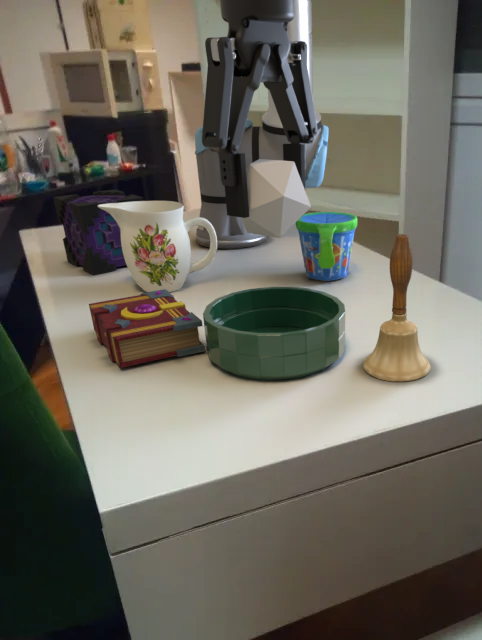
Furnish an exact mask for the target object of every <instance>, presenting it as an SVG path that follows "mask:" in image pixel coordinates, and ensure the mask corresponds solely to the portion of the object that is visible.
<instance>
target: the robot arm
mask: <svg viewBox="0 0 482 640" xmlns="http://www.w3.org/2000/svg"><path fill="white" fill-rule="evenodd" d="M219 1H220V2H219V4H220V15H221V18H222V20H223V21H224V22H225V23H227V24H228V29H227V34H226V36H213V37H212V36H211V37H207V38H206V39H205V42H204V47H205V54H206V55H205V56H206V61H207V71H206V82H205V83H206V84H205V97H204V108H203V122H202V125H201V126H199V127H198V128H197V129H196V130H195V132H194V146H195V151H194V155H195V159H196V168H197V176H198V186H199V194H200V195H199V196H200V210H199V217H201V218H205V219H206V220H208V221H209V222H210V223H211V224H212V226H213V227H214V230H215V232H216V236H217V249H219V250H220V249H222V250H223V249H224V250H226V249H227V250H228V249H229V250H230V249H233V250H234V249H243V248H249V247H255V246H258V245H262V244H264V243H265V242H267V241H268V236H265V235H258V234H252V233H247V231H246V229H245V227H244V224H243V222H242V220H241V218H247V217H249V205H248V190H247V175H246V168H247V167H248V166H249V165H250V164H251V163H253V162H255V161H257V160H259V159H268V160H281V161H294V163H295V165H296V168H297V171H298V173H299V176H300V178H301V181H302V184H303V186H304V189H305V190H306V189H315V188H318V187H320V186H321V185H322V183H323V180H324V176H325V171H326V170H325V169H326V162H327V155H328V154H327V153H328V145H329V144H328V142H329V133H330V132H329V131H330V130H329V127H328V126H327V125H325V124H322V115H321V113H320V112H319V111H318V110H317V109H316V108H315V105H314V69H313V66H314V64H313V12H312V11H313V8H312V7H313V5H312V3H313V2H312V0H219ZM261 83H262V84H263V87H265V88H266V89H267V100H268V102H267V103H268V108H267V109H266V111H265V112H264V113H263V114H262V116H261V124H262V125H261V126H257V125H255V126H254V122H253V121H252V119H251V118H250V117H248V116H249V114H250V109H251V105H252V102H253V97H254V95H255V93H256V91H257V90H258V89H259V87H260V86H261ZM195 231H196V232H195V238H196V243H197V244H198V245H199V246H201V247H205V248H210V244H211V241H210V235H209V233H208V231H207V229H206V228H205V227H203V226H201V225H197V228H196V229H195Z"/></svg>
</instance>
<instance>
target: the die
mask: <svg viewBox="0 0 482 640" xmlns="http://www.w3.org/2000/svg"><path fill="white" fill-rule="evenodd" d="M246 175H247V190H248V205H249V217H247V218H241V220H242V222H243V224H244V227H245V229H246V231H247V233H252V234H258V235H265V236H267V237H270V238H271V237H272V238H278V239H281V238H282V237H283V236H284V235H285V234H286V233H287V232H288V231H289V230H290V229H291V228H292V227H293V226H294V225H296V222H297V221H298V220H299V219H300V218H301V217H302V216H303V215H304V214H307V213H308V211H309V210H310V209H311V208H312V205H311V202H310V200H309V197H308V194H307V192H306V188H305V189H304V186H303V184H302V181H301V178H300V176H299V173H298V171H297V168H296V165H295V163H294V161H281V160H268V159H259V160H257V161H255V162H253V163H251V164H250V165H249V166H248V167H247V168H246Z"/></svg>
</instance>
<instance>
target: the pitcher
mask: <svg viewBox="0 0 482 640" xmlns="http://www.w3.org/2000/svg"><path fill="white" fill-rule="evenodd" d="M98 207H99V208H100V209H102V210H105V211H106V212H108V213H109V214H111V216H112V217H113V218H114V219H115V220H116V222H117V224H118V225H119V227H120V230H121V245H122V251H123V255H124V259H125V262H126V265H125V266H126V267H127V269H128V271H129V273H130V276H131V277H132V278H133V280H134V281H135V283H136V284H137V285H138V286H139V287H140V288H141V289H142V290H143V291H144V292H145V293H147V292H152V291H158V290H163V289H166V290H167V291H168V292H169V293H173V292H176V291H178V290H180V289H181V288H182V287H183V285H184V283H185V281H186V279H187V278H188V275H189V274H191V273H194V272H197V271H199V270H202V269H204V268H206V267H207V266H208V265H210V263H211V262H213V260H214V258H215V257H216V254H217V250H218V248H217V236H216V232H215V230H214V227H213V226H212V224H211V223H210V222H209V221H208V220H206V219H205V218H201V217H198V216H197V217H194V218H191V219H189V220H184V209H185V207H184V204H183V203H182V202H178V201H174V200H173V201H172V200H143V201H133V202H122V203H108V204H100V205H98ZM198 225H201V226H203V227H205V228H206V229H207V231H208V233H209V235H210V241H211V244H210V247H209V250H208V252H207V253H206V255H204V257H202V258H201V259H200V260H198V261H195V262H191V257H192V249H191V247H192V246H191V239H190V235H189V232H190V230H191V229H192V228H194V227H196V226H197V227H198Z"/></svg>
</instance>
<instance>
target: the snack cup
mask: <svg viewBox="0 0 482 640" xmlns="http://www.w3.org/2000/svg"><path fill="white" fill-rule="evenodd" d="M295 227H296V229H297V231H298V236H299V242H300V243H299V244H300V248H301V255H302V260H303V265H304V266H303V267H304V271H305V274H306V276H307V277H308V278H309V279H311V280H315V281H324V282H331V281H337V280H341V279H344V278H346V277H347V275H348V274H349V269H350V263H351V258H352V251H353V245H354V237H355V231H356V229H357V227H358V216H356V215H355V214H352V213H348V212H340V211H317V212H309V213H308V212H307V213H305V214H304V215H303V216H302V217H301V218H300V219H299V220H298V221H297V222H296V223H295Z"/></svg>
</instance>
